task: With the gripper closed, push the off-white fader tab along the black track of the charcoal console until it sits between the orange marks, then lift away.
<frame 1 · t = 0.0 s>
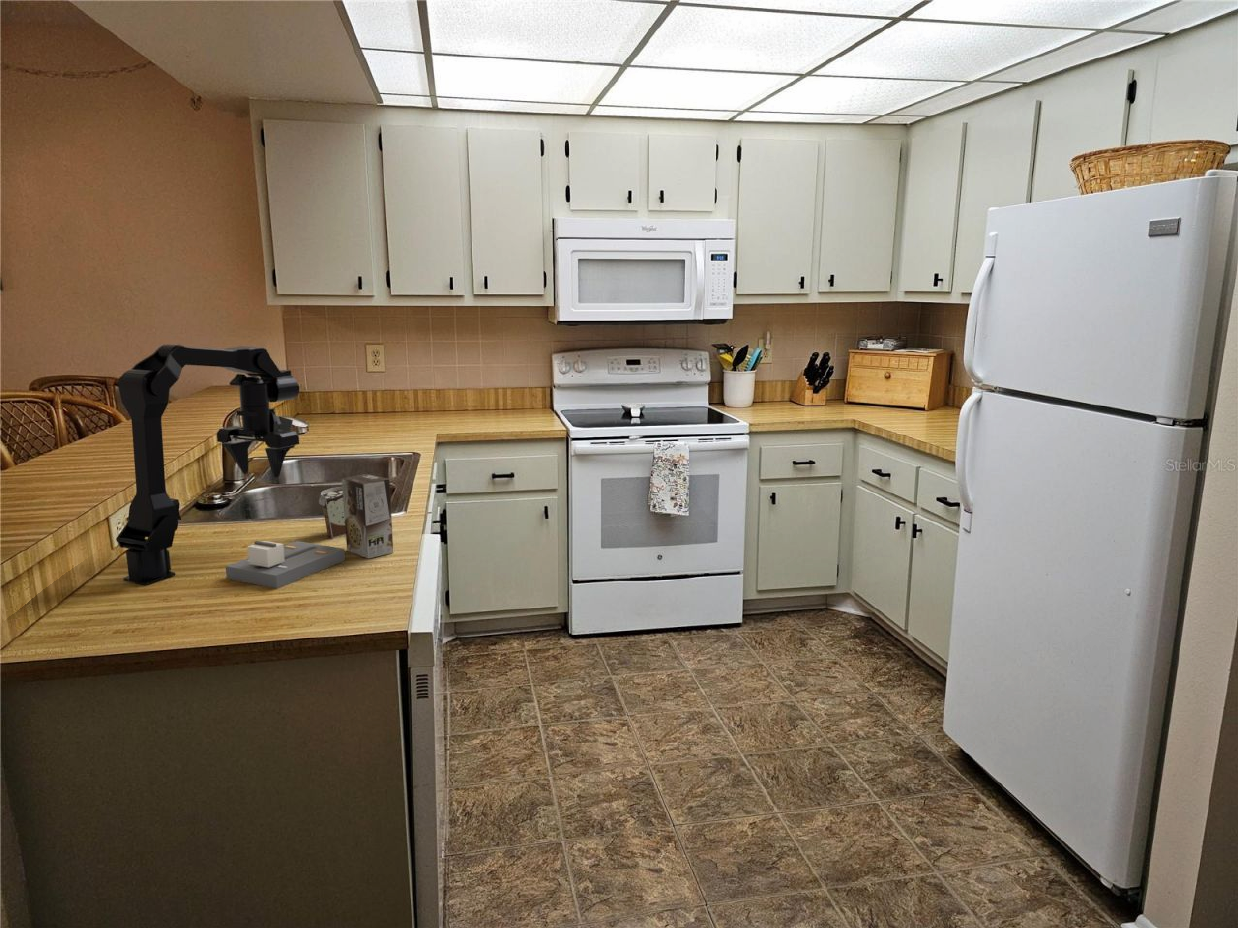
hand: (260, 475, 178), 15 cm above the counter, tool pointing down, fingers open, 9 cm apart
fader tab: (266, 552, 156), point 5 cm above the counter, slide at -5.0 cm
coffee box: (370, 552, 173), on the counter
food container: (341, 532, 188), on the counter
fader console: (287, 569, 162), on the counter
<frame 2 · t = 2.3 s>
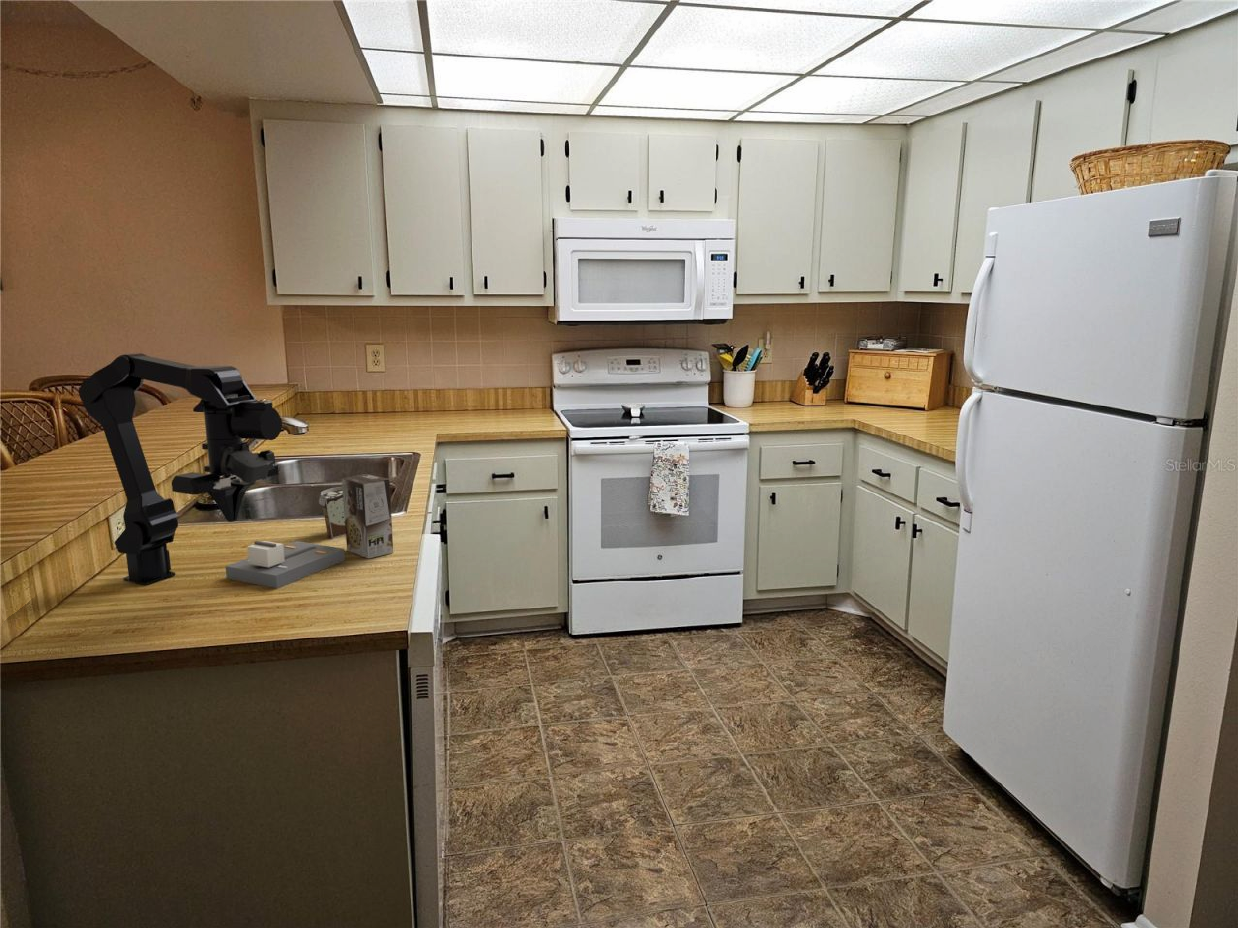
hand: (232, 521, 148), 13 cm above the counter, tool pointing down, fingers closed
nothing on the counter moved.
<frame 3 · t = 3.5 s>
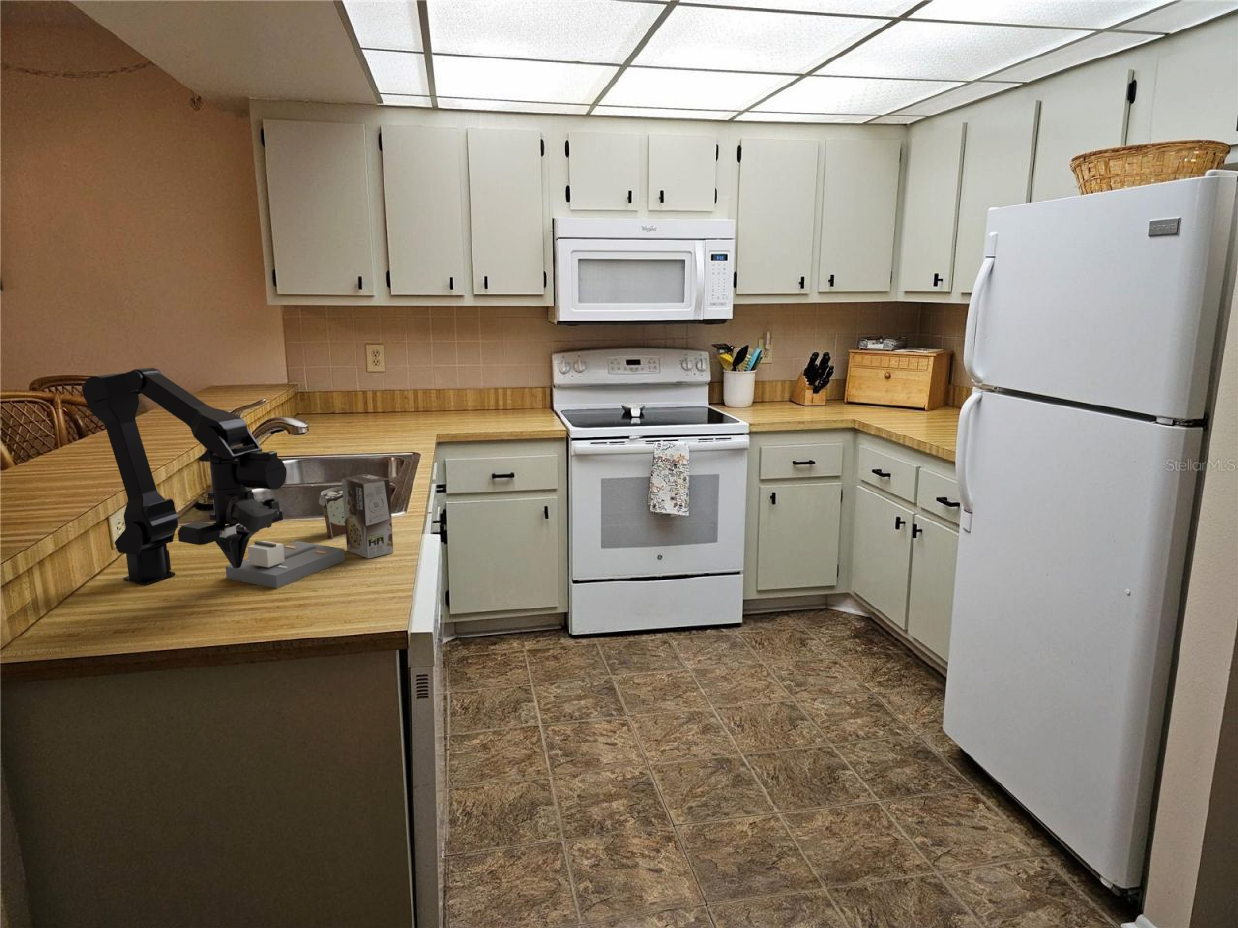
hand: (237, 567, 150), 4 cm above the counter, tool pointing down, fingers closed
nothing on the counter moved.
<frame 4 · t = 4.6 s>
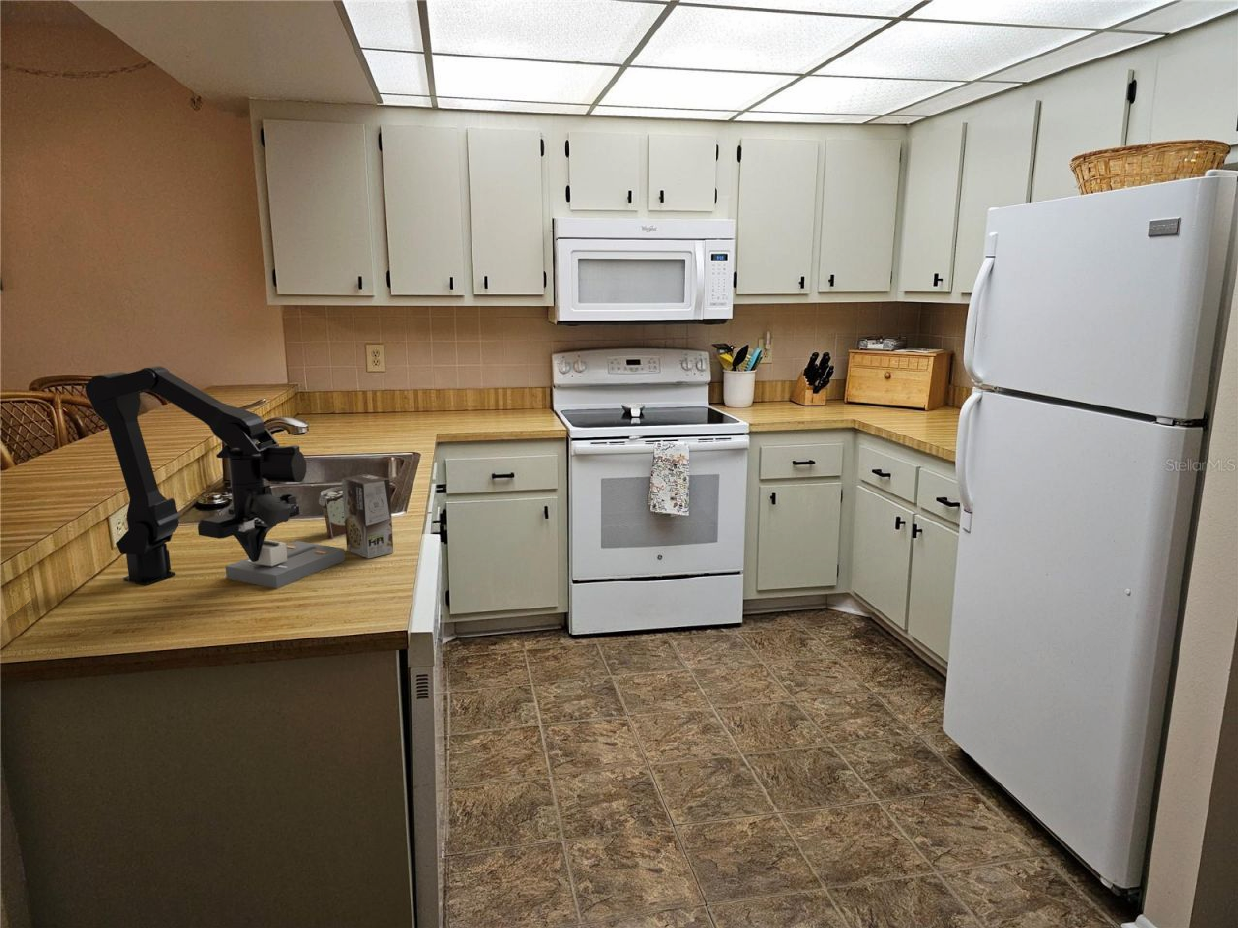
hand: (254, 561, 154), 4 cm above the counter, tool pointing down, fingers closed
fader tab: (269, 551, 157), point 5 cm above the counter, slide at -4.3 cm, touching gripper
everything else where it was.
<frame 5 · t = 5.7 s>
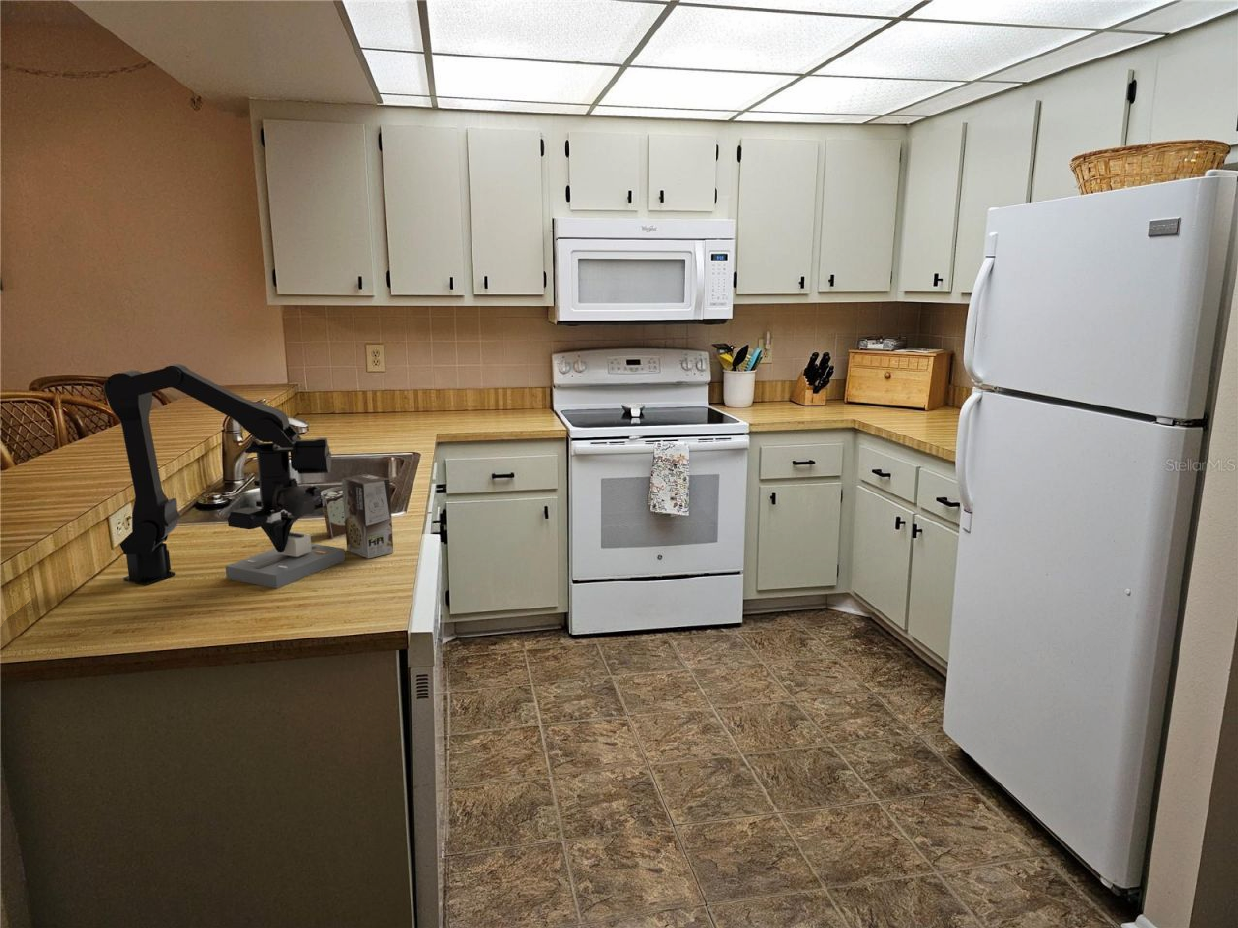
hand: (280, 551, 159), 4 cm above the counter, tool pointing down, fingers closed
fader tab: (294, 542, 162), point 5 cm above the counter, slide at 2.1 cm, touching gripper
everything else where it was.
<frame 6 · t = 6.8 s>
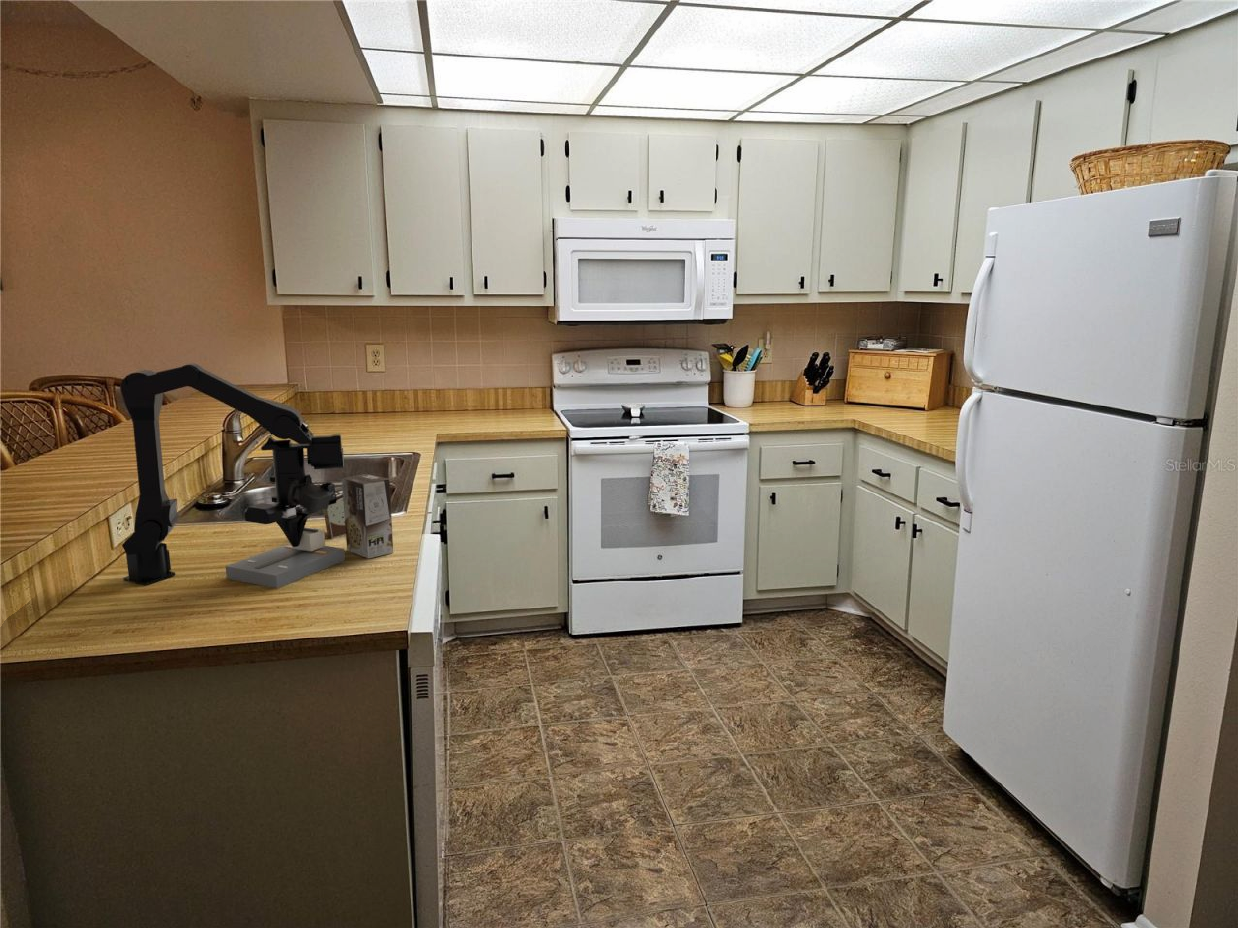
hand: (295, 546, 163), 4 cm above the counter, tool pointing down, fingers closed
fader tab: (308, 537, 166), point 5 cm above the counter, slide at 5.9 cm, touching gripper
everything else where it was.
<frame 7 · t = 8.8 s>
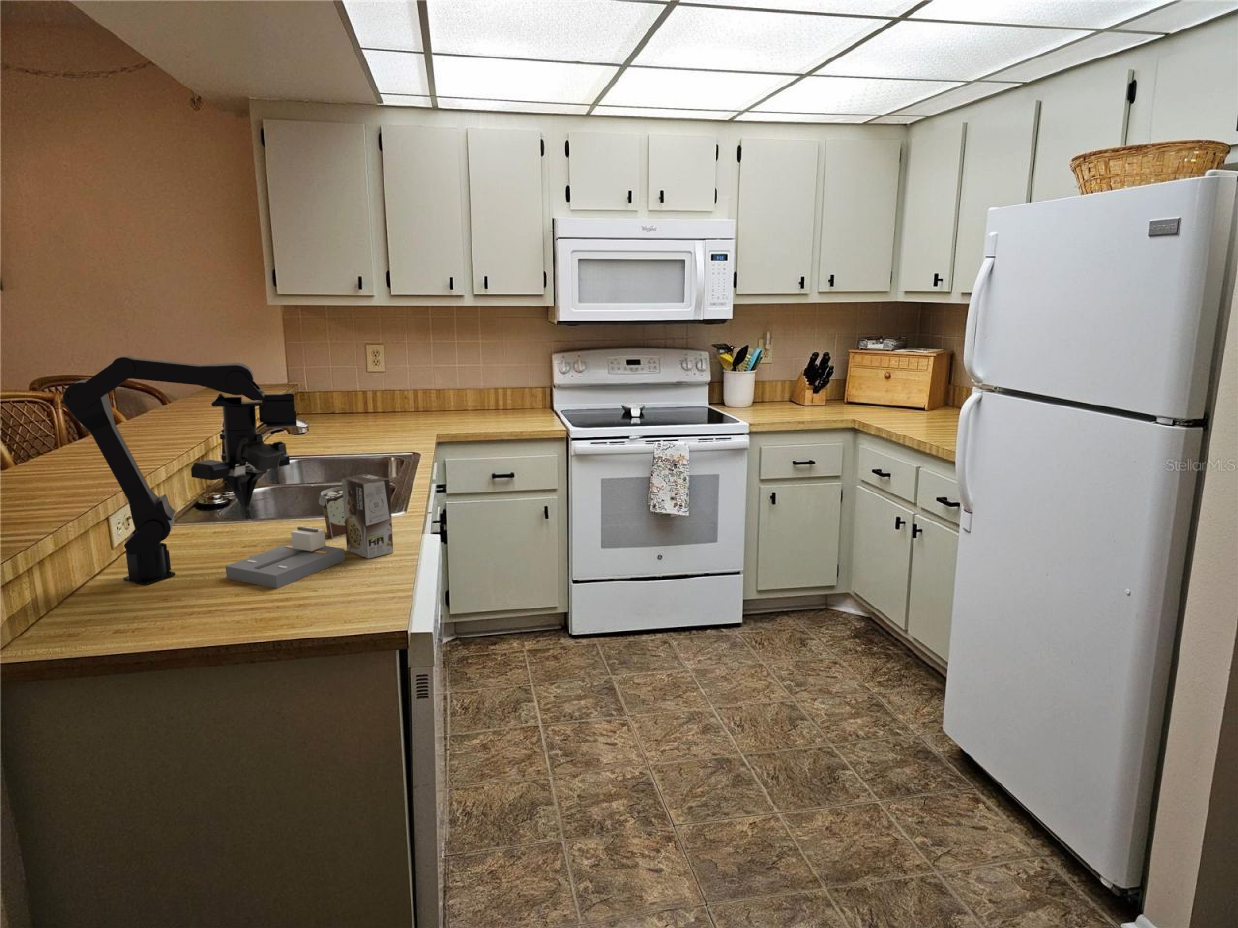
hand: (245, 506, 160), 13 cm above the counter, tool pointing down, fingers closed
fader tab: (308, 537, 166), point 5 cm above the counter, slide at 6.0 cm
everything else where it was.
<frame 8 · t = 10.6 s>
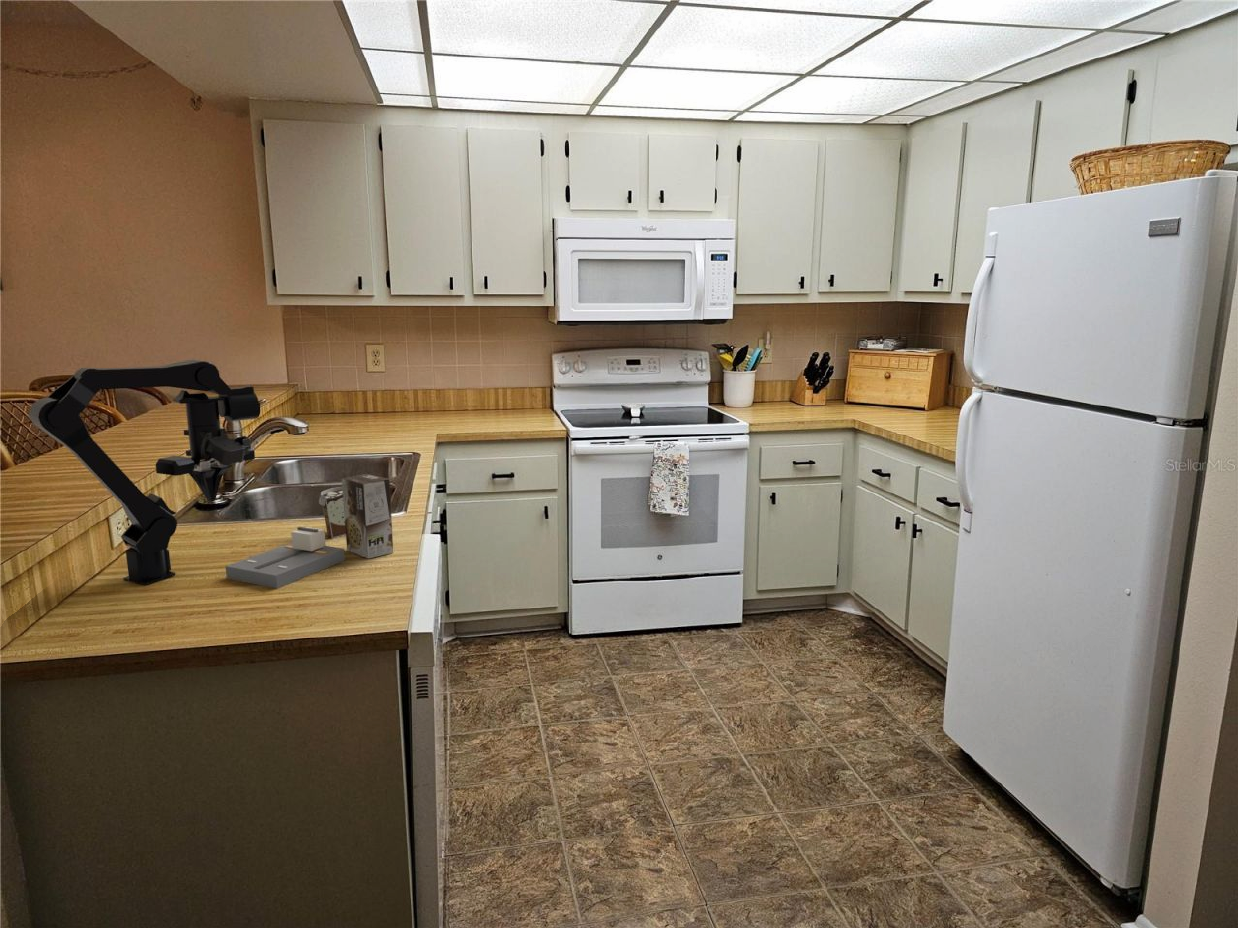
hand: (211, 501, 163), 13 cm above the counter, tool pointing down, fingers closed
nothing on the counter moved.
at the end: fader tab slide at 6.0 cm; coffee box moved 0.2 cm from its start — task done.
